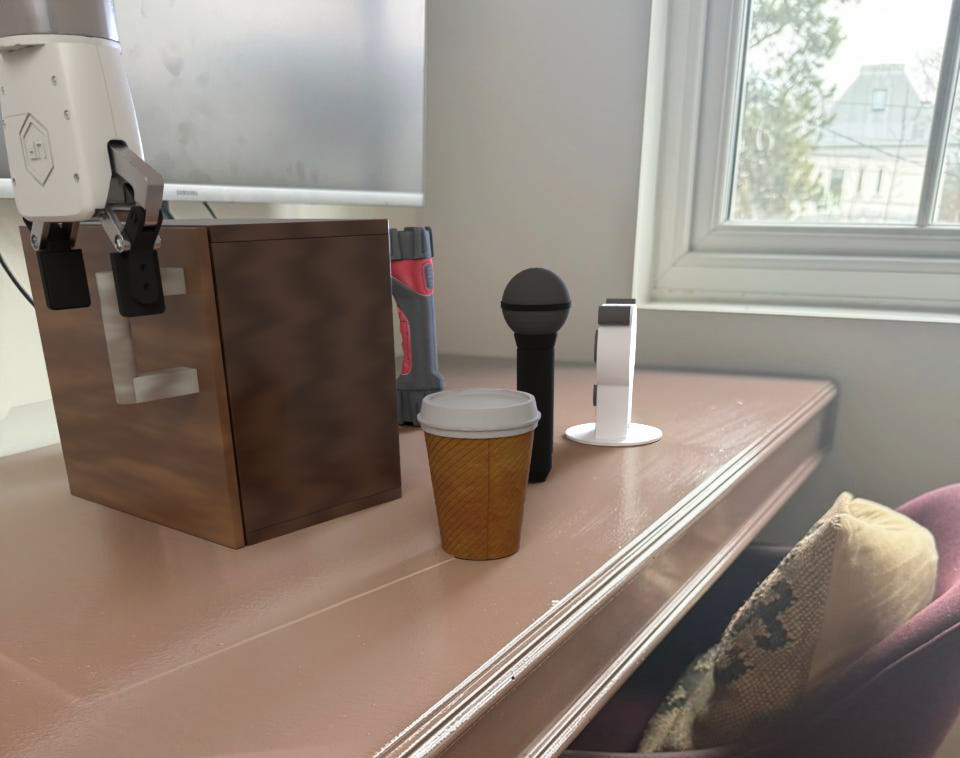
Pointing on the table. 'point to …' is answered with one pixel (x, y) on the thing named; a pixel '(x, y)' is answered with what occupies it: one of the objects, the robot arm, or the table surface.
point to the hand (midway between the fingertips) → (105, 311)
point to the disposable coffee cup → (479, 467)
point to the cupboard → (306, 366)
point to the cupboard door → (144, 391)
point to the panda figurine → (614, 381)
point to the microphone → (537, 349)
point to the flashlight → (415, 318)
